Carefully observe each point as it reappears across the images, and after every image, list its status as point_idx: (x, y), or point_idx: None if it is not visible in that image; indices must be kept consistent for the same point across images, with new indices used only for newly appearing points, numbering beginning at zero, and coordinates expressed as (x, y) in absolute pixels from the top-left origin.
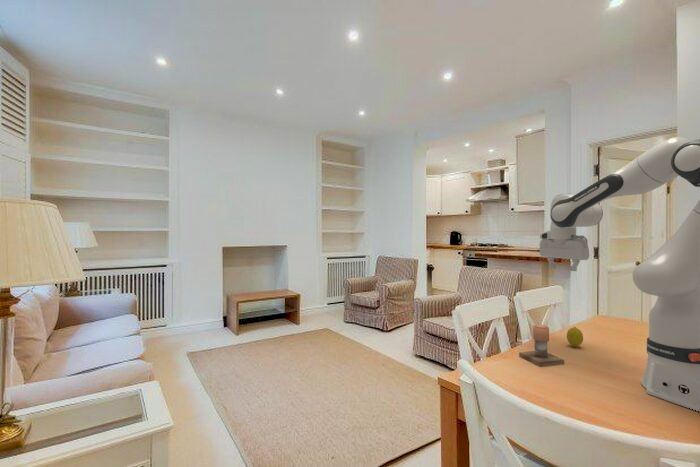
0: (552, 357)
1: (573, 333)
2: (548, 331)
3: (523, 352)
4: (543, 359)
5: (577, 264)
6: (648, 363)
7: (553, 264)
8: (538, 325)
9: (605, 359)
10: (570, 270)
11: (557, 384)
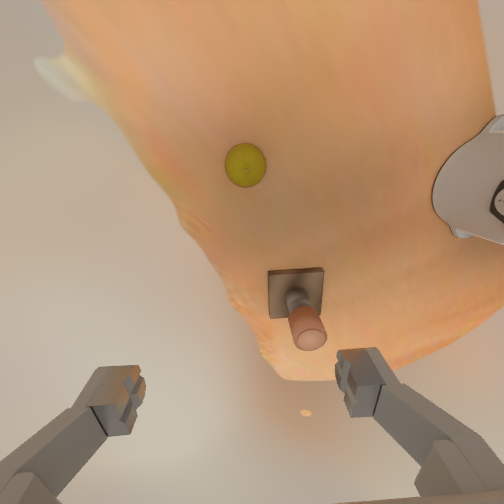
0: (308, 283)
1: (256, 183)
2: (324, 328)
3: (272, 313)
4: (311, 303)
5: (435, 416)
6: (488, 230)
7: (129, 426)
8: (306, 343)
9: (333, 163)
10: (339, 375)
11: (372, 325)
